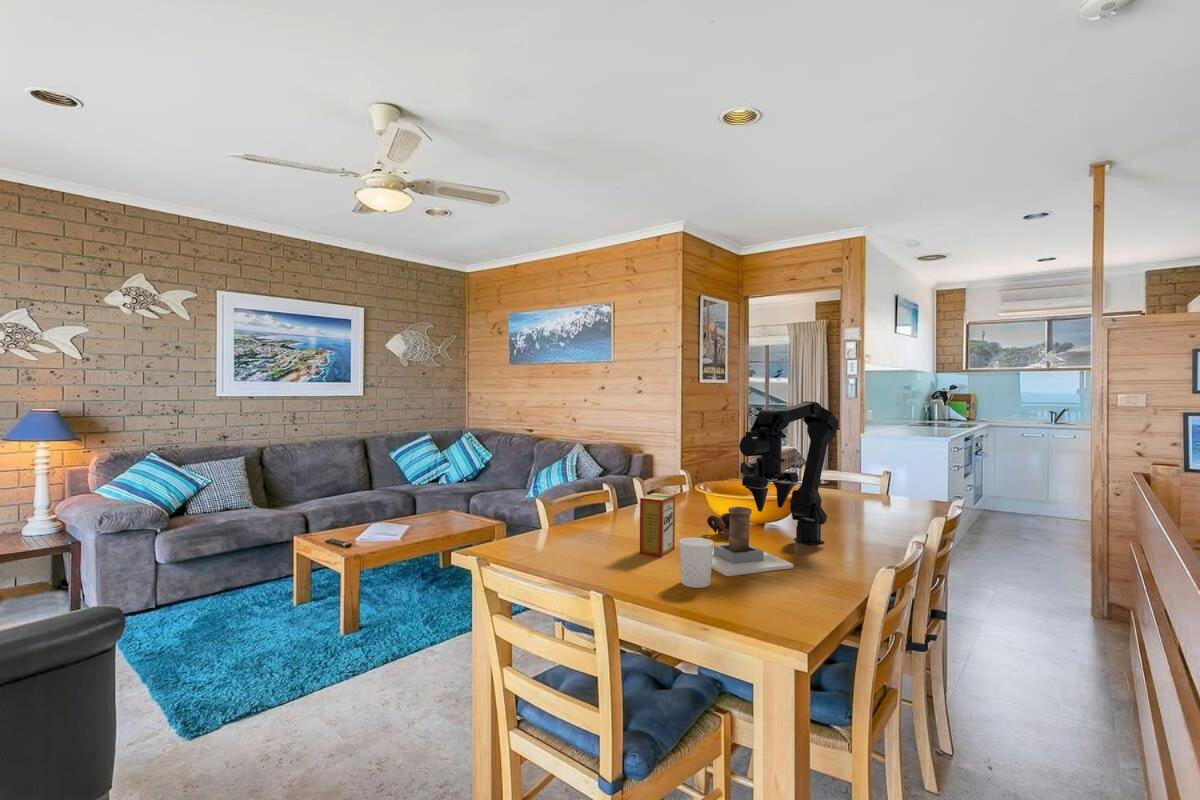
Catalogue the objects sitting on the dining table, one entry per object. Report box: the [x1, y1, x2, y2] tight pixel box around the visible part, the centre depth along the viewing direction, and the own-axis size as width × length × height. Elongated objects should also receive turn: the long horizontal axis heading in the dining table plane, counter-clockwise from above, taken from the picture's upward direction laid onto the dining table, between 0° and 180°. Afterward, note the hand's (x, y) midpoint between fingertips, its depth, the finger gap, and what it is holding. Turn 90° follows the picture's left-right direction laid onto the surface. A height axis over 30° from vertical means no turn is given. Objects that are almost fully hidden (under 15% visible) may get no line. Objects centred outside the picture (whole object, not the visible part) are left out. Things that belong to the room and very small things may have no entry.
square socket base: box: [711, 543, 794, 577], centre depth 161 cm, size 20×20×4 cm
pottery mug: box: [706, 512, 730, 540], centre depth 188 cm, size 12×10×8 cm
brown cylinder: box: [728, 506, 753, 553], centre depth 161 cm, size 6×6×13 cm
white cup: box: [678, 537, 714, 589], centre depth 142 cm, size 8×8×10 cm
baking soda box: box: [639, 492, 676, 558], centre depth 170 cm, size 10×6×16 cm
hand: (770, 509), depth 170 cm, fingers open, 9 cm apart
